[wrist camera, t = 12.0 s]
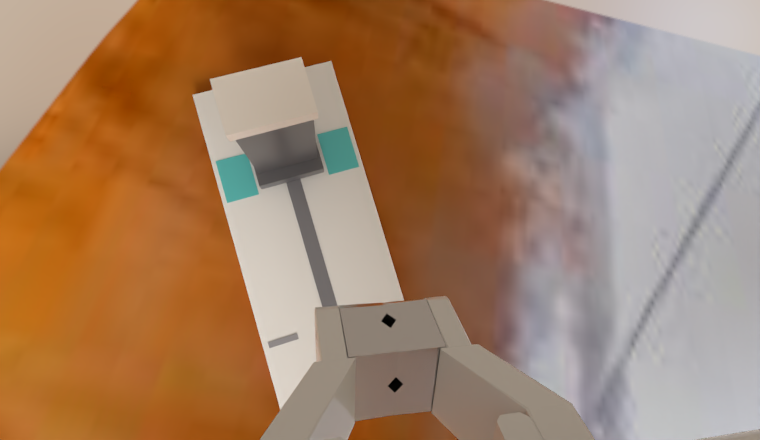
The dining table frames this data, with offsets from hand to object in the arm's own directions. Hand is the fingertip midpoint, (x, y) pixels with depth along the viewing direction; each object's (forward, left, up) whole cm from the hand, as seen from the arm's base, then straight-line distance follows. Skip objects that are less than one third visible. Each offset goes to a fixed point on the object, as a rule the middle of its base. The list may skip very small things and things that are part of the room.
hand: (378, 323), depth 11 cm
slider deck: (+4, -2, -24) cm, 24 cm away
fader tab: (+8, -6, -22) cm, 25 cm away
